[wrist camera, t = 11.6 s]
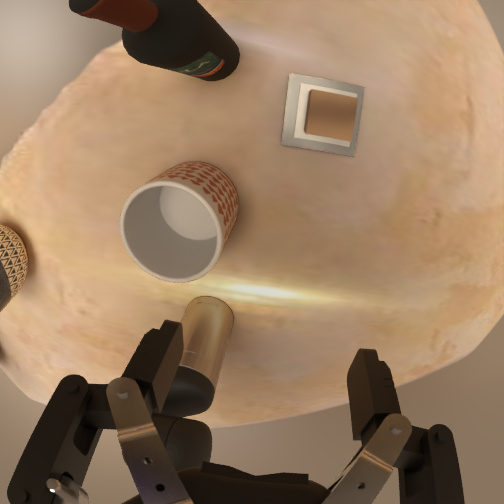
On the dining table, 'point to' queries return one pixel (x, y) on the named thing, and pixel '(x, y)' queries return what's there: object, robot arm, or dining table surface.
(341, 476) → the robot arm
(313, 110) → the walnut block
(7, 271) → the planter
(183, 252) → the vase
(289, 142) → the plinth
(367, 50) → the dining table surface
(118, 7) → the wine bottle
